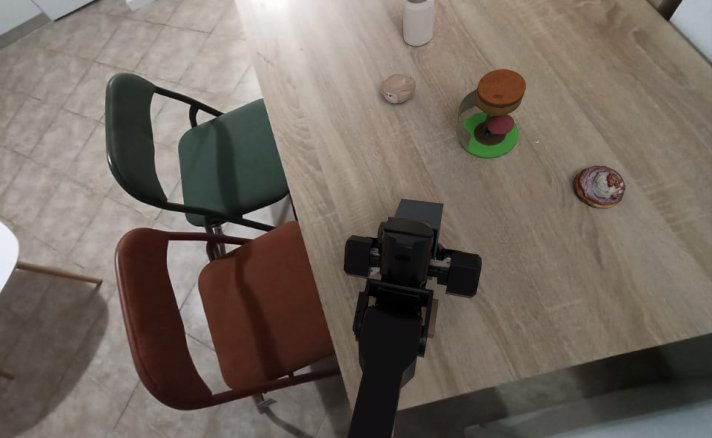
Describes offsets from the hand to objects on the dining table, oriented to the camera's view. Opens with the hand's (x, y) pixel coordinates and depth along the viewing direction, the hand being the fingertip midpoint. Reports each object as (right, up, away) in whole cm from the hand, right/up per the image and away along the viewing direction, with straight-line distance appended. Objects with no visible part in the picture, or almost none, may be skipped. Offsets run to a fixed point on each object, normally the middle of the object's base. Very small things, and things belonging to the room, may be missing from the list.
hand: (414, 242), depth 71 cm
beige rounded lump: (+5, +31, +25) cm, 40 cm away
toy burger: (+20, +21, +16) cm, 33 cm away
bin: (+3, -1, +8) cm, 9 cm away
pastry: (+34, +9, +6) cm, 36 cm away
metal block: (+1, -13, +7) cm, 15 cm away
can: (+11, +46, +30) cm, 56 cm away
